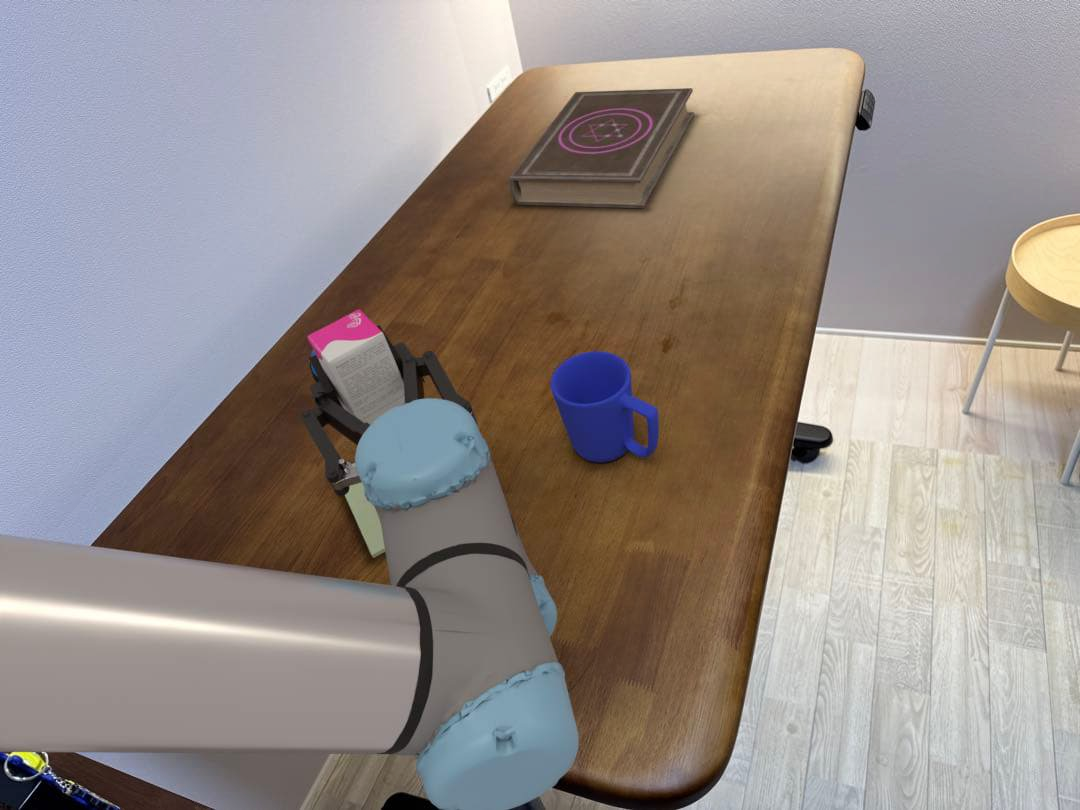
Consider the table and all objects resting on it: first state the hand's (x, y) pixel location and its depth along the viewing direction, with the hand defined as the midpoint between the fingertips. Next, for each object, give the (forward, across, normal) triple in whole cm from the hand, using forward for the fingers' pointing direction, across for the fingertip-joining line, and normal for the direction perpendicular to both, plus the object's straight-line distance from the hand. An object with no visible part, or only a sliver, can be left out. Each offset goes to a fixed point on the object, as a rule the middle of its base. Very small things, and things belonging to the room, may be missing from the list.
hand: (349, 351), depth 78 cm
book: (+45, +54, -17) cm, 72 cm away
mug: (-14, +21, -17) cm, 30 cm away
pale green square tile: (-4, 0, -17) cm, 17 cm away
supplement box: (-5, 0, -6) cm, 8 cm away
